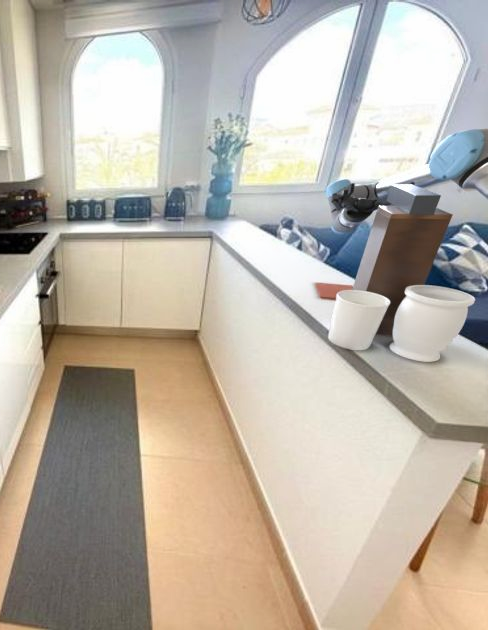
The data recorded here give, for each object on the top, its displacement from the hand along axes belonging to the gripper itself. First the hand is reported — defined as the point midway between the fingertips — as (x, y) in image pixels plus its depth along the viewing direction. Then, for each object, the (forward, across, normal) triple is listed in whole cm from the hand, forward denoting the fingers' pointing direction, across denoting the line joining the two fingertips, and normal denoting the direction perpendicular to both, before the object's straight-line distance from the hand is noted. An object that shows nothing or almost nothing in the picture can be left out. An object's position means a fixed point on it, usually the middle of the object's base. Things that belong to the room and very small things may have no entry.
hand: (381, 187), depth 100 cm
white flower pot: (+19, +7, -47) cm, 51 cm away
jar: (+20, -5, -48) cm, 52 cm away
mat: (-11, +4, -30) cm, 32 cm away
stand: (+8, 0, -41) cm, 42 cm away
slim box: (+20, 0, -13) cm, 24 cm away
